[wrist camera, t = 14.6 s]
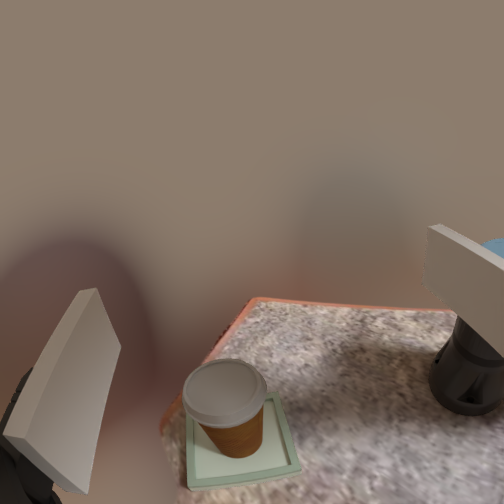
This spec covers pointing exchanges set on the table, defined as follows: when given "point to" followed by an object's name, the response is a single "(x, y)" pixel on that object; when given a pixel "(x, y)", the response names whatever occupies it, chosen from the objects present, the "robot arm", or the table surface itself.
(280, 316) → the table surface
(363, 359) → the table surface
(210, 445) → the coaster plate
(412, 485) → the table surface
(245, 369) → the disposable coffee cup
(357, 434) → the table surface
